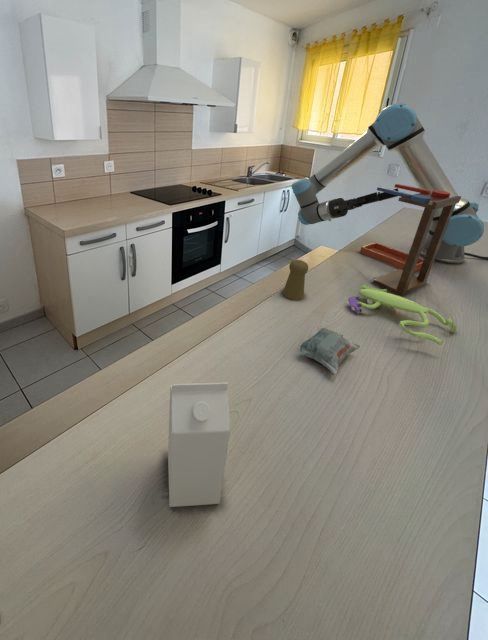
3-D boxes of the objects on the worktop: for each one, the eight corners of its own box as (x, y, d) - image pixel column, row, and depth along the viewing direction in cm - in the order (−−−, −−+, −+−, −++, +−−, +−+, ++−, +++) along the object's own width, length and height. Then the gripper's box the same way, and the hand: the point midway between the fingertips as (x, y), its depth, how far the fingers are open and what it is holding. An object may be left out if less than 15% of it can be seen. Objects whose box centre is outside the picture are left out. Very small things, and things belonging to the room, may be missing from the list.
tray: (359, 252, 128) (361, 246, 127) (373, 247, 133) (375, 242, 132) (411, 273, 113) (413, 267, 112) (424, 267, 118) (427, 260, 117)
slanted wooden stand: (372, 283, 105) (400, 194, 94) (397, 272, 113) (425, 188, 102) (402, 297, 98) (437, 202, 86) (427, 284, 106) (461, 196, 94)
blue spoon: (373, 190, 101) (374, 186, 100) (382, 189, 103) (384, 185, 102) (423, 203, 88) (424, 198, 88) (432, 202, 90) (434, 197, 90)
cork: (301, 290, 99) (308, 258, 95) (305, 301, 94) (313, 267, 90) (281, 288, 100) (287, 256, 96) (284, 299, 94) (291, 265, 90)
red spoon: (392, 187, 106) (393, 183, 106) (398, 186, 108) (400, 182, 108) (445, 199, 94) (446, 194, 94) (451, 197, 97) (453, 193, 96)
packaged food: (357, 355, 74) (362, 338, 72) (333, 381, 66) (338, 363, 64) (321, 336, 80) (325, 319, 78) (295, 358, 72) (299, 340, 70)
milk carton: (167, 456, 51) (170, 363, 43) (212, 453, 52) (222, 362, 44) (169, 508, 44) (173, 409, 37) (219, 504, 45) (233, 407, 38)
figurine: (425, 361, 73) (433, 342, 71) (330, 300, 95) (334, 283, 93) (467, 339, 81) (476, 321, 79) (371, 287, 103) (376, 272, 100)
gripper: (354, 213, 134) (409, 200, 116) (315, 222, 121) (370, 209, 103) (349, 196, 134) (403, 180, 116) (310, 203, 122) (364, 186, 103)
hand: (388, 194), depth 110 cm, fingers open, 13 cm apart
